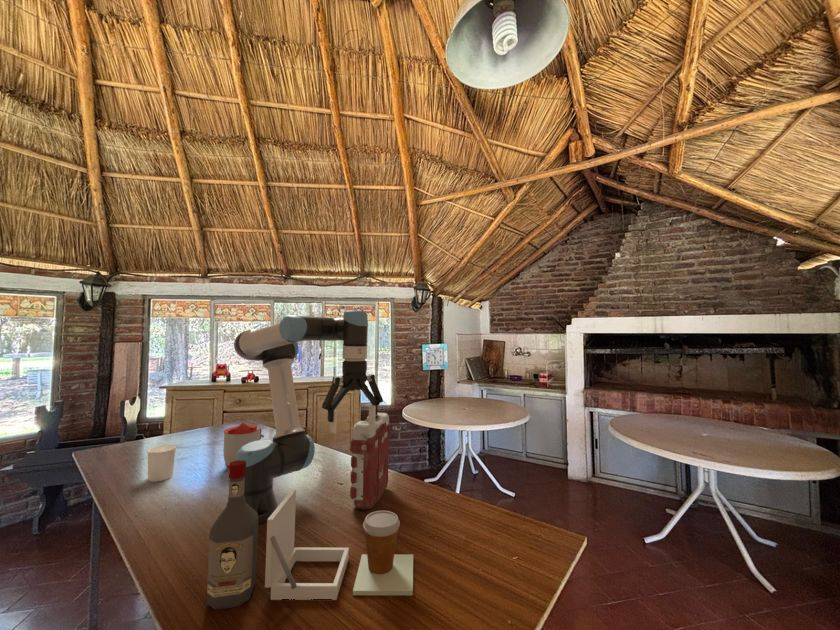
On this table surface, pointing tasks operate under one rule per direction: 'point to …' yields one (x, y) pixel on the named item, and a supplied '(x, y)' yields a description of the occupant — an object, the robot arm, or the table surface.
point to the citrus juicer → (238, 440)
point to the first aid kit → (369, 461)
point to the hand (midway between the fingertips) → (353, 429)
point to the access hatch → (296, 558)
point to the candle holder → (161, 462)
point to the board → (386, 578)
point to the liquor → (233, 547)
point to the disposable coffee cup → (381, 540)
